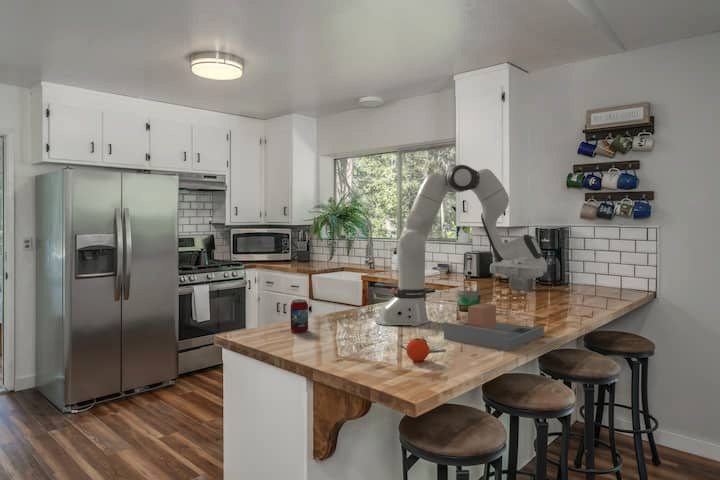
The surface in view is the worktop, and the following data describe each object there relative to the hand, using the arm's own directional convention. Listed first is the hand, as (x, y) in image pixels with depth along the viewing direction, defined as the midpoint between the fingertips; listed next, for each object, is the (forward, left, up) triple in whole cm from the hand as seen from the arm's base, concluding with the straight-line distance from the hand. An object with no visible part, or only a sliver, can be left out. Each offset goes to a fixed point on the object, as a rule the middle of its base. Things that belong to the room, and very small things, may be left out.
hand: (507, 271), depth 184 cm
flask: (+55, +104, -24) cm, 120 cm away
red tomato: (-42, -31, -24) cm, 57 cm away
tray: (-7, -6, -23) cm, 25 cm away
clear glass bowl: (-37, -17, -24) cm, 48 cm away
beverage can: (-78, +13, -24) cm, 83 cm away
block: (-14, -10, -21) cm, 27 cm away
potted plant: (0, +43, -24) cm, 49 cm away
